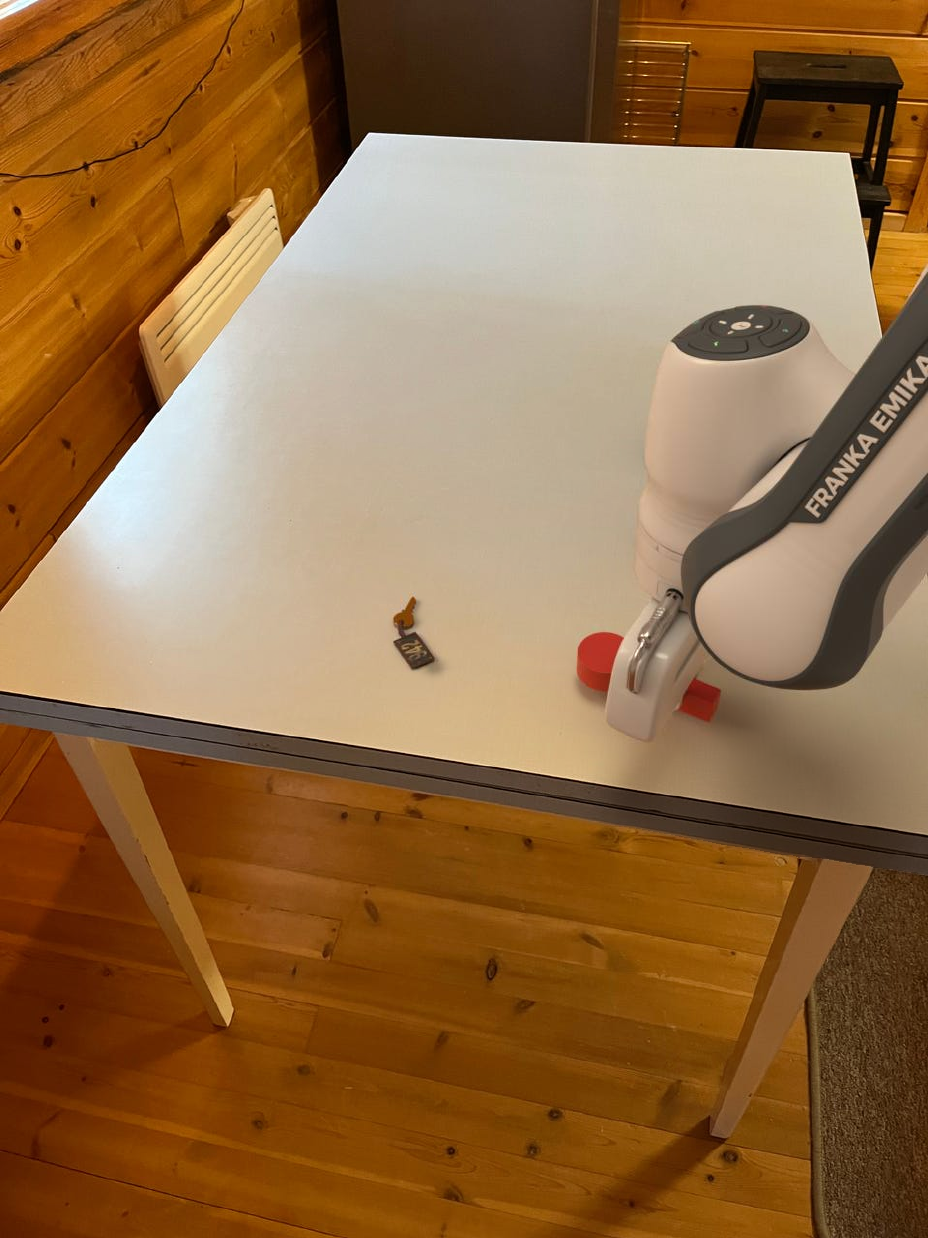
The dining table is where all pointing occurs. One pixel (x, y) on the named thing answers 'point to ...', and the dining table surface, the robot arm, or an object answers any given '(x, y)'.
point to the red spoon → (598, 665)
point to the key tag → (411, 639)
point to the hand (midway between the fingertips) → (679, 687)
